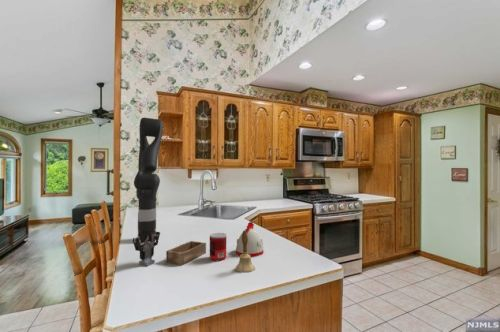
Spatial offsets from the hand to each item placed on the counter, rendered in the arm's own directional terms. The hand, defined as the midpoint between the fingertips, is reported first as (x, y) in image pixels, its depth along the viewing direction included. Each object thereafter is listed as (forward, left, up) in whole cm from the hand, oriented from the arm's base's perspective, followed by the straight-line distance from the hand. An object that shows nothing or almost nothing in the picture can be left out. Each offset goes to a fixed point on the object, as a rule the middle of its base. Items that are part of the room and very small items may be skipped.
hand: (146, 257), depth 112 cm
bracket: (0, 0, -3) cm, 3 cm away
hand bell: (+42, +13, -3) cm, 44 cm away
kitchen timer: (+35, +33, -3) cm, 48 cm away
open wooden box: (+11, +14, -3) cm, 18 cm away
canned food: (+25, +19, -3) cm, 32 cm away
